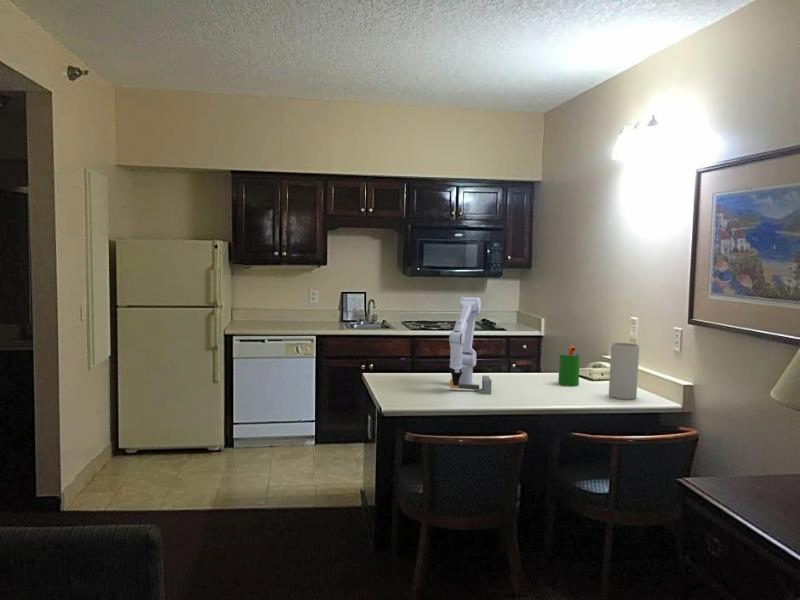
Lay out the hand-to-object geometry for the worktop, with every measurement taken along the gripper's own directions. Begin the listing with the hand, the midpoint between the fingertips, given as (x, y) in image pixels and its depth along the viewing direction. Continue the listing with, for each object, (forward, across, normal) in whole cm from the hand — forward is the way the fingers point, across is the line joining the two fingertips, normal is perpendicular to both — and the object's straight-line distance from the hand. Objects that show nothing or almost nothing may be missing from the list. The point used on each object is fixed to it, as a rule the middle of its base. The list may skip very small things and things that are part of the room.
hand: (455, 384), depth 316 cm
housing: (+3, 0, -15) cm, 15 cm away
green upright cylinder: (+3, +20, -60) cm, 63 cm away
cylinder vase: (+3, -4, -79) cm, 79 cm away
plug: (+2, 0, -4) cm, 5 cm away
